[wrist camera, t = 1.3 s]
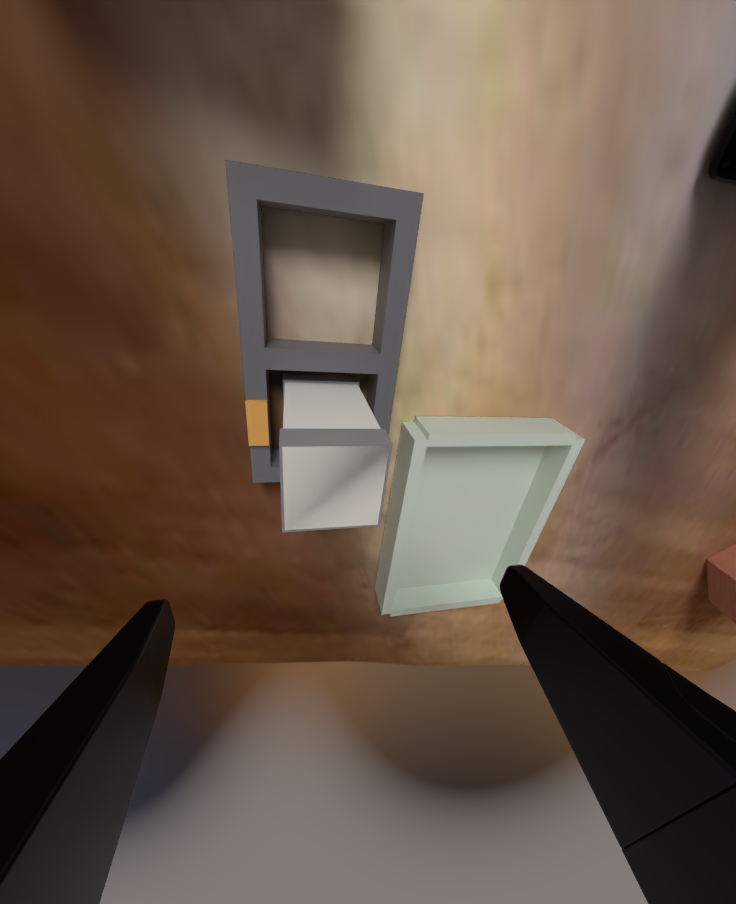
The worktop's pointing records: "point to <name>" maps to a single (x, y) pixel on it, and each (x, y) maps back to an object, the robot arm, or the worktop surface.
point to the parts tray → (467, 507)
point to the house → (723, 581)
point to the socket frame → (262, 354)
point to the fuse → (330, 455)
